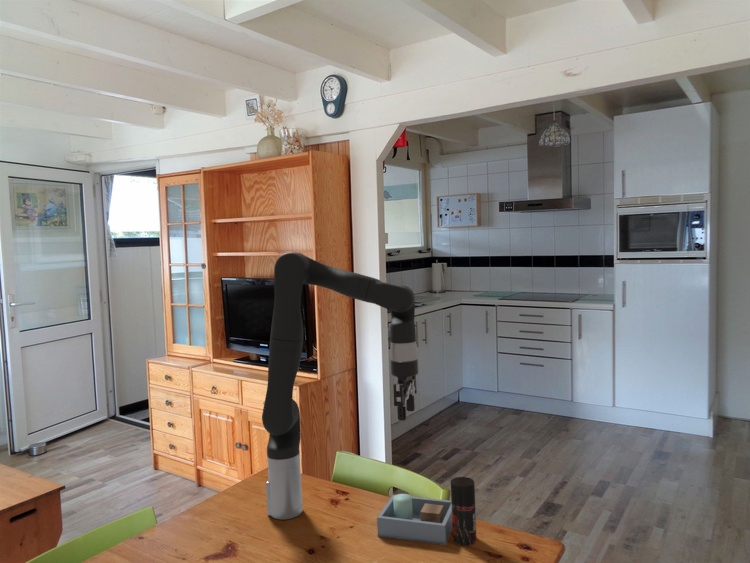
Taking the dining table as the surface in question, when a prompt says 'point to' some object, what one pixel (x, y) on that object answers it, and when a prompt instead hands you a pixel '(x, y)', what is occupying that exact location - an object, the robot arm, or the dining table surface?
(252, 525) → the dining table surface
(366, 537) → the dining table surface
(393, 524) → the box
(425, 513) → the walnut cube
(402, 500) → the teal cylinder
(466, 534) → the deodorant
